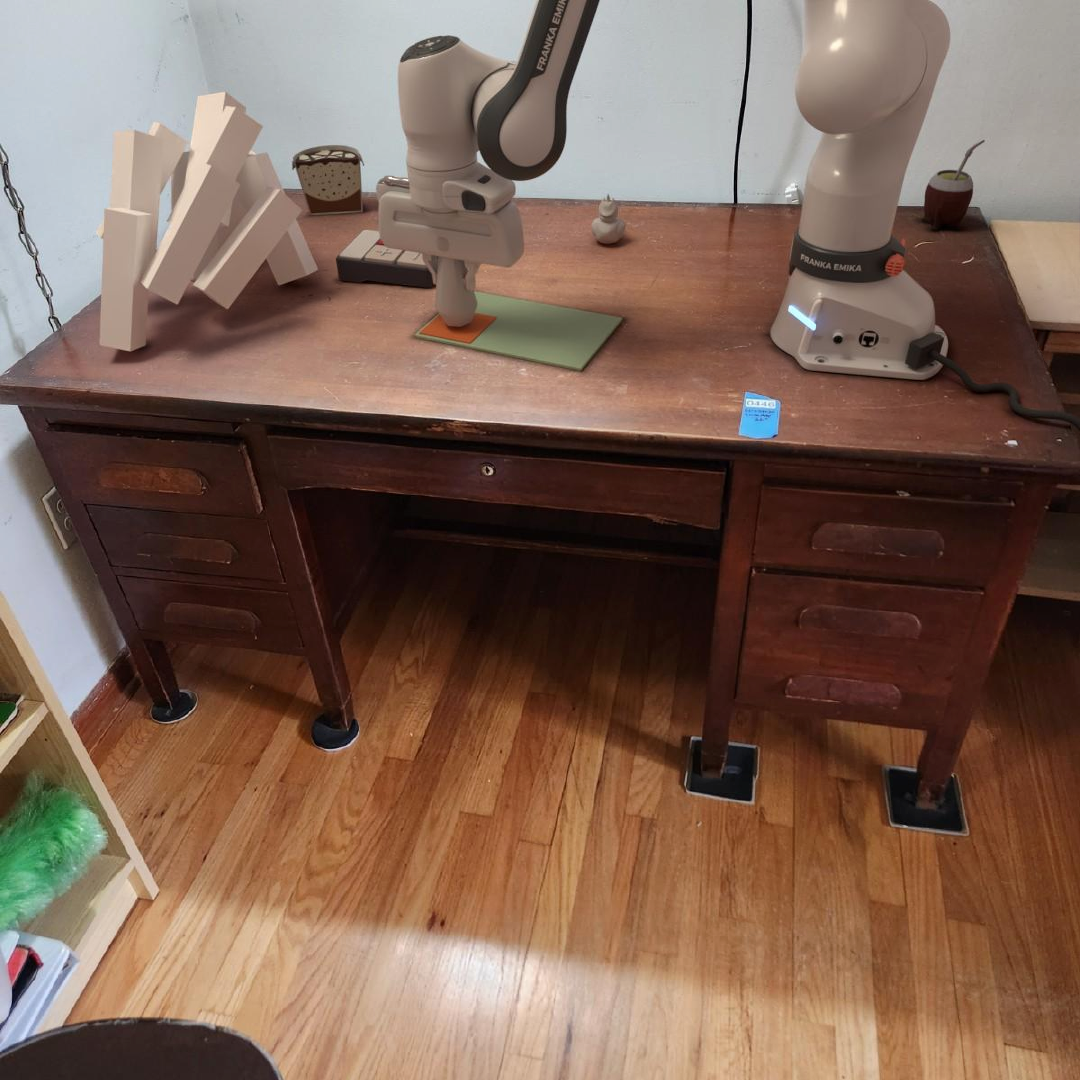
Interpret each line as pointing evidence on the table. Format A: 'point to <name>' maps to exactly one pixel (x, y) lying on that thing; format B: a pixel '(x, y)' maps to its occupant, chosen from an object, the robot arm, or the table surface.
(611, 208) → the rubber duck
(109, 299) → the pile of blocks
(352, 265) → the calculator
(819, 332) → the robot arm
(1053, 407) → the table surface
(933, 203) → the mate gourd
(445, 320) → the salt shaker
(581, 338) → the desk mat
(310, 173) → the food container
